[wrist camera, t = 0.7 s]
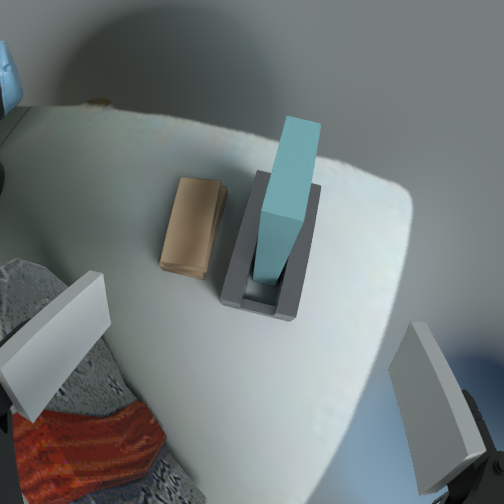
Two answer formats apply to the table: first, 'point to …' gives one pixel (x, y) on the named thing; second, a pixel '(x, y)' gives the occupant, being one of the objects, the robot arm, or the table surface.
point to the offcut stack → (193, 227)
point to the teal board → (286, 198)
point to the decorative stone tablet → (87, 422)
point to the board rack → (247, 249)
